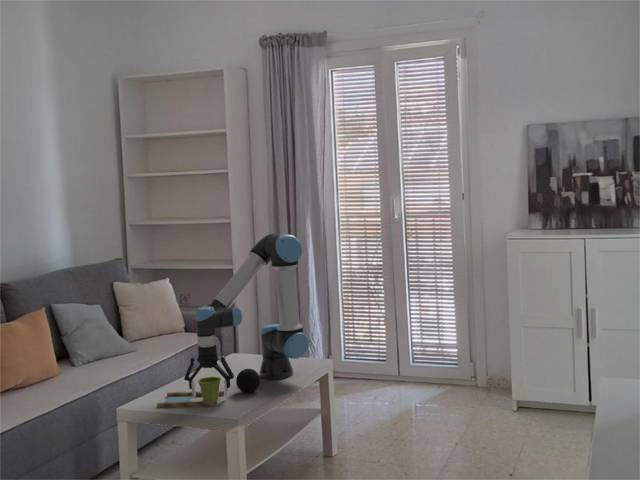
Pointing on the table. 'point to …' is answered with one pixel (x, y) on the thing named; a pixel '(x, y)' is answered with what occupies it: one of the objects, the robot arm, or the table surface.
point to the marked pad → (178, 399)
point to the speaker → (248, 380)
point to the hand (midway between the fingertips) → (210, 396)
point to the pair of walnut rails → (187, 404)
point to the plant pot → (210, 388)
